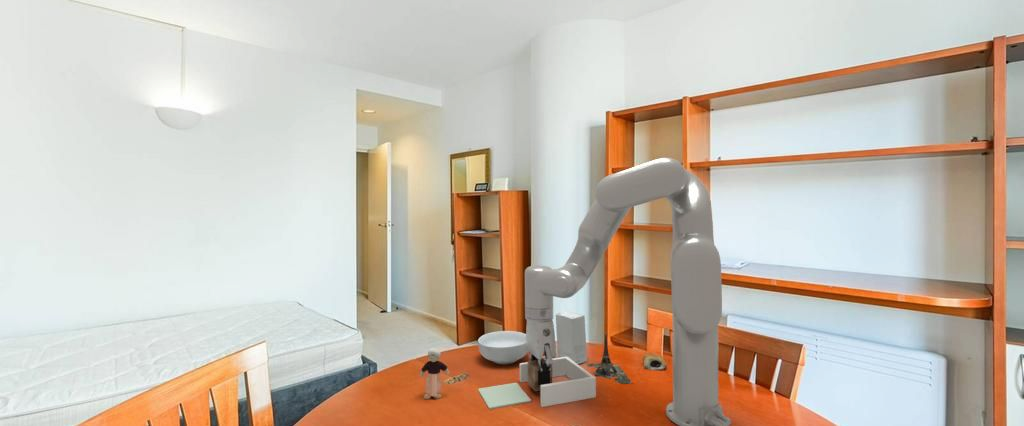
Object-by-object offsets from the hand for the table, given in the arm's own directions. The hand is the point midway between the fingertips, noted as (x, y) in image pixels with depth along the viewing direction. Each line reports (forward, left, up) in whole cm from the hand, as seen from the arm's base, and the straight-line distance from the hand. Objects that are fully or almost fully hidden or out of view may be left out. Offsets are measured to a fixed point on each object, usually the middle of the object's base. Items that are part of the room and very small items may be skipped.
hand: (539, 380), depth 106 cm
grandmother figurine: (+7, +27, -3) cm, 28 cm away
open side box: (0, -4, -3) cm, 5 cm away
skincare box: (+17, -18, -3) cm, 25 cm away
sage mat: (+1, +10, -3) cm, 10 cm away
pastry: (+4, -40, -4) cm, 40 cm away
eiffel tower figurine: (+4, -23, -4) cm, 24 cm away
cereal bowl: (+25, +2, -3) cm, 25 cm away
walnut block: (0, 0, -2) cm, 2 cm away
